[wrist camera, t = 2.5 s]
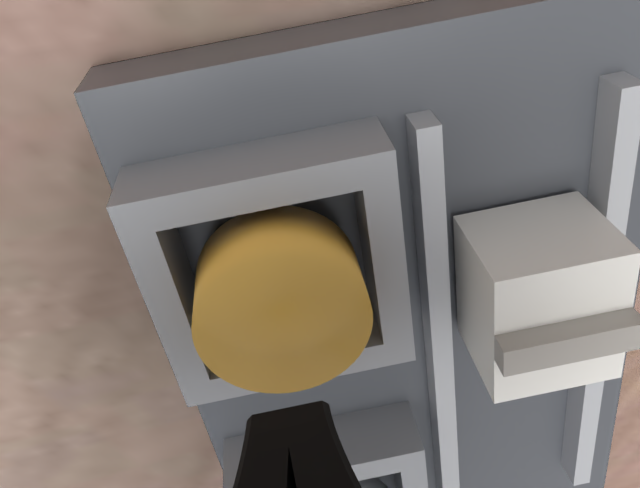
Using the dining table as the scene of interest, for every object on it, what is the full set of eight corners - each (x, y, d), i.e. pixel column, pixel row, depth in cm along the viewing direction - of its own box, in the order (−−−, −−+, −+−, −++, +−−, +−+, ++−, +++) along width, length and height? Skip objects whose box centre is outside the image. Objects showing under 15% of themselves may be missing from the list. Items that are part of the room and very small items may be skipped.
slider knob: (567, 305, 18) (634, 394, 15) (457, 328, 18) (502, 421, 15) (577, 190, 16) (658, 267, 13) (453, 216, 16) (504, 298, 13)
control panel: (578, 458, 26) (629, 546, 23) (260, 525, 26) (265, 624, 23) (640, -41, 15) (755, -12, 12) (91, 67, 15) (50, 127, 12)
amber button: (366, 320, 16) (381, 374, 14) (218, 350, 16) (217, 408, 14) (346, 189, 14) (361, 235, 12) (175, 224, 14) (167, 274, 12)
